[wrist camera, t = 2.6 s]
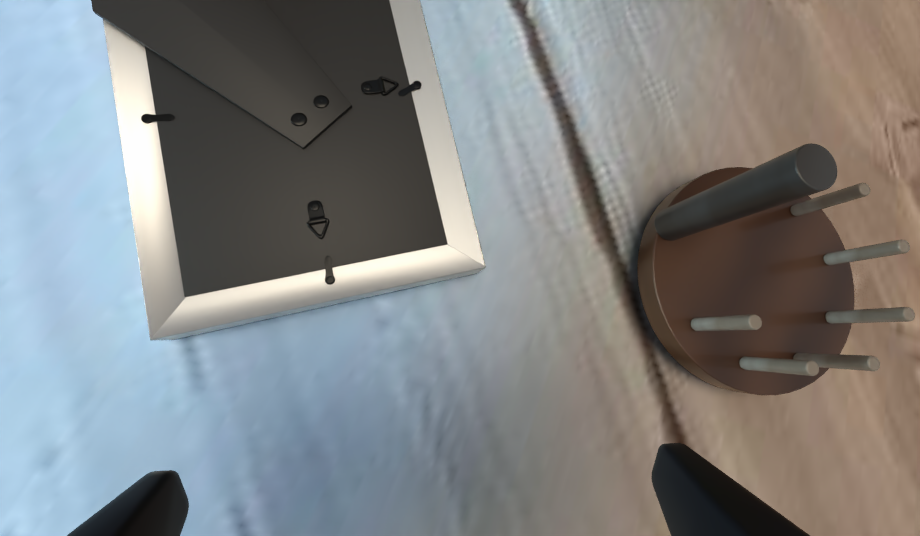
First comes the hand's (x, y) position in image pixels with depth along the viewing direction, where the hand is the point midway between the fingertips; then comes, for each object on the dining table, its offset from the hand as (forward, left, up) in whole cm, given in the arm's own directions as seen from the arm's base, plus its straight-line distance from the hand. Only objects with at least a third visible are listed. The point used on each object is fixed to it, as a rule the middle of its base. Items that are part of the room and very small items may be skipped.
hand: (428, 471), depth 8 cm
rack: (-3, -20, -13) cm, 24 cm away
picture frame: (+15, -1, -15) cm, 22 cm away
